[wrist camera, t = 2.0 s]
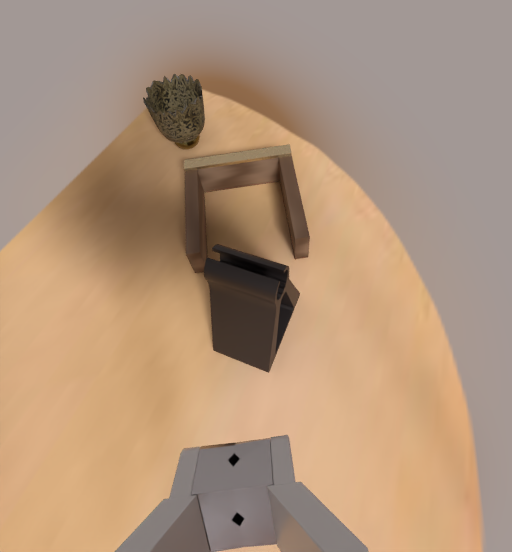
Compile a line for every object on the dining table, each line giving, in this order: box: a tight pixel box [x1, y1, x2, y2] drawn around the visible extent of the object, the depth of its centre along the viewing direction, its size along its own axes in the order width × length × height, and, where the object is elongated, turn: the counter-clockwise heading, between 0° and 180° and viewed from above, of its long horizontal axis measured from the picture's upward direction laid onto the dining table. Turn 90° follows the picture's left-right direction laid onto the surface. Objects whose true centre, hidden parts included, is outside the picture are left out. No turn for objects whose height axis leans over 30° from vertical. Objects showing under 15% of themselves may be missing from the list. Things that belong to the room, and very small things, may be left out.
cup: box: [143, 74, 205, 149], centre depth 48 cm, size 8×7×8 cm
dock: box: [184, 144, 310, 273], centre depth 42 cm, size 13×14×4 cm
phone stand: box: [204, 244, 300, 372], centre depth 32 cm, size 9×6×12 cm, turn 157°
